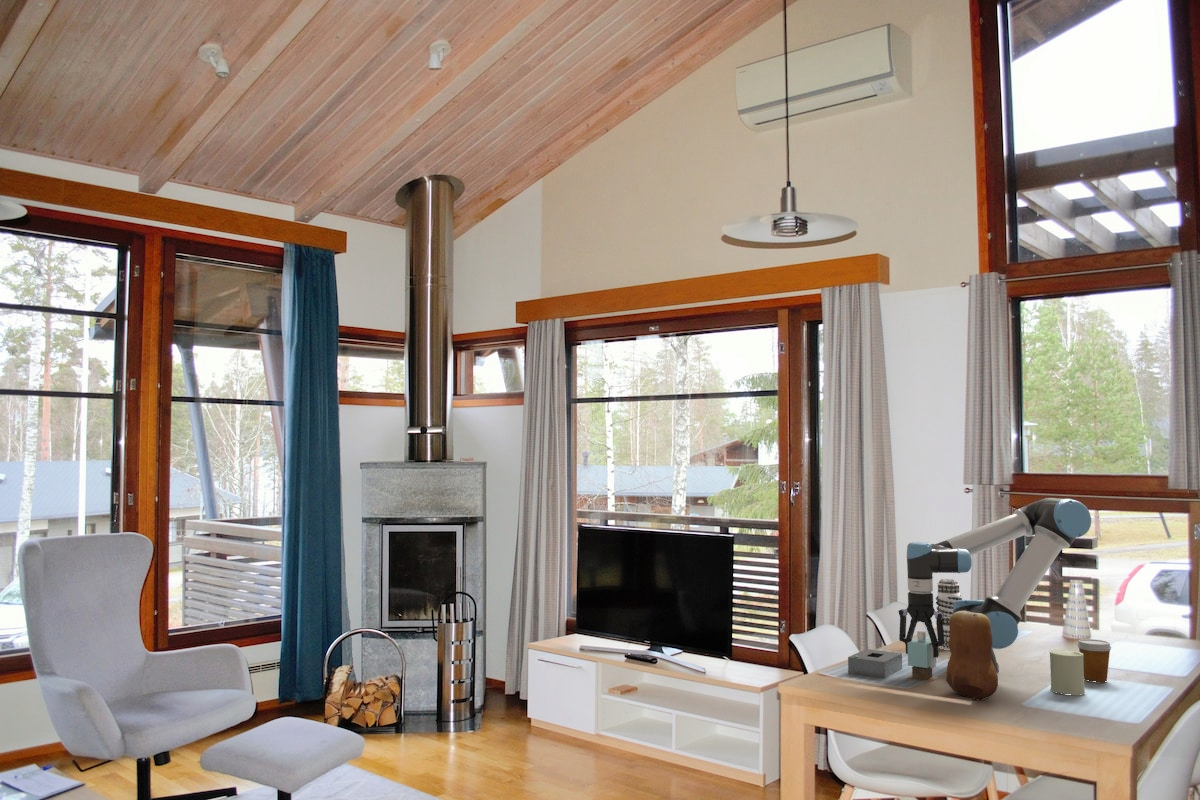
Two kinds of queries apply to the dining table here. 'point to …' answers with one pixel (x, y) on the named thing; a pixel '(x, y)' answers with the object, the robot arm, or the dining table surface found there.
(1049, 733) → the dining table surface
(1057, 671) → the can
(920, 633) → the teal and white block
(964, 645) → the butternut squash
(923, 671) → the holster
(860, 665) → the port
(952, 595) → the decorative candle
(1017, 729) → the dining table surface
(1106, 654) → the disposable coffee cup
